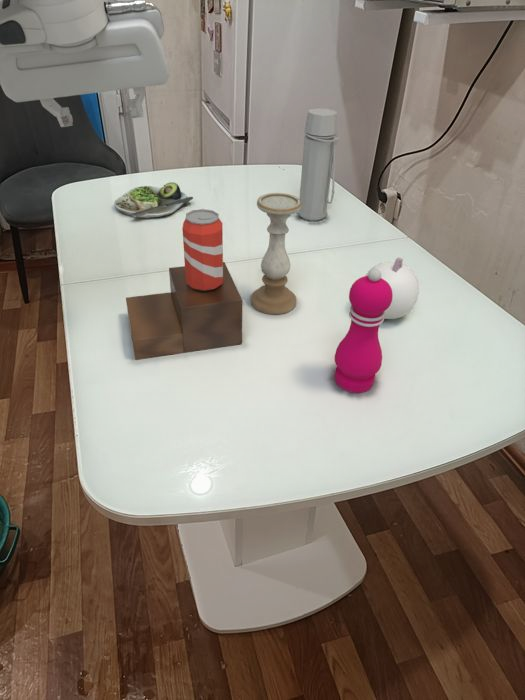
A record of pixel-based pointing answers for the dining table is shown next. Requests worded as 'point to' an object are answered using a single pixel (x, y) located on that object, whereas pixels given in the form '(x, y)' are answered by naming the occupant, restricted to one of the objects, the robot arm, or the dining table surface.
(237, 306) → the step shelf
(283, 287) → the candle holder
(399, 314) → the ornament
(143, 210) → the avocado toast plate
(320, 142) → the water bottle
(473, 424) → the dining table surface
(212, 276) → the beverage can
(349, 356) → the pepper mill
